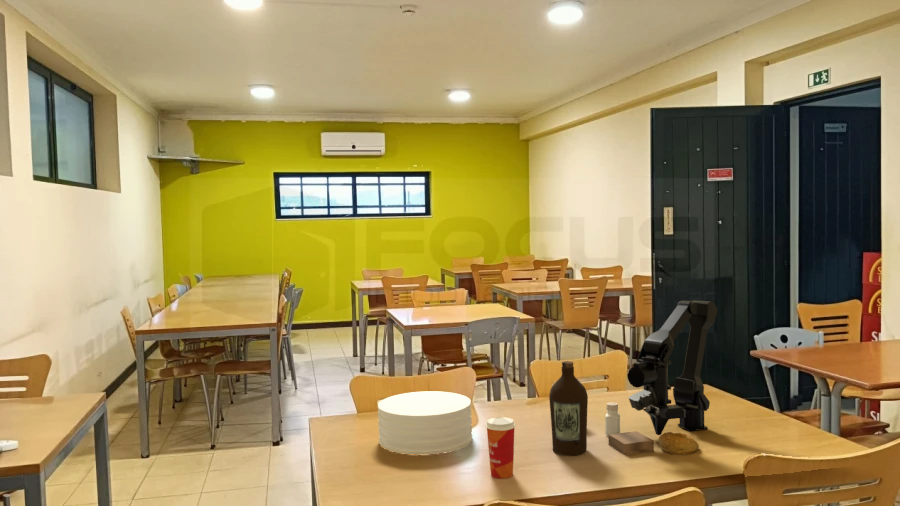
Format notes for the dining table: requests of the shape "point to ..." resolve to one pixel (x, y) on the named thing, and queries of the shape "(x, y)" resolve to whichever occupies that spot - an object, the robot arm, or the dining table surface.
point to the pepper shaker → (612, 419)
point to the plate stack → (425, 422)
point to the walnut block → (631, 442)
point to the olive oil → (568, 413)
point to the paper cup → (501, 446)
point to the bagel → (678, 443)
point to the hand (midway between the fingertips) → (658, 434)
